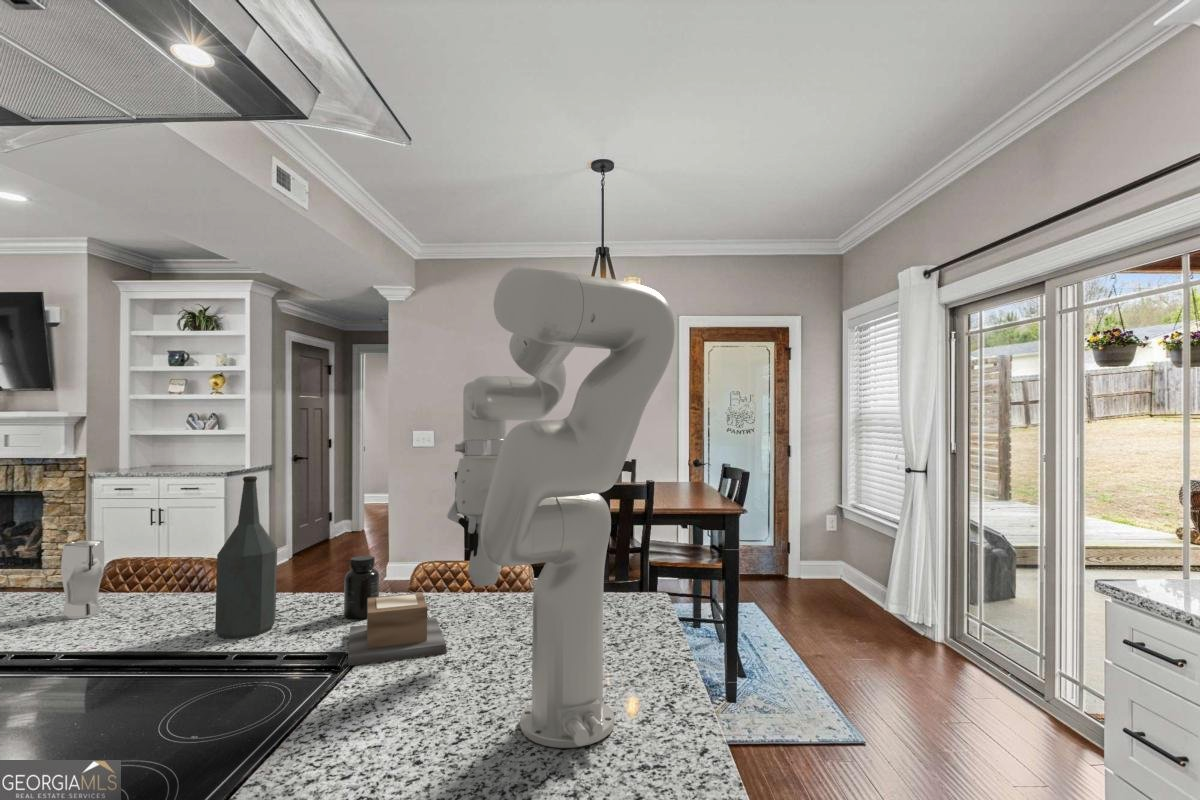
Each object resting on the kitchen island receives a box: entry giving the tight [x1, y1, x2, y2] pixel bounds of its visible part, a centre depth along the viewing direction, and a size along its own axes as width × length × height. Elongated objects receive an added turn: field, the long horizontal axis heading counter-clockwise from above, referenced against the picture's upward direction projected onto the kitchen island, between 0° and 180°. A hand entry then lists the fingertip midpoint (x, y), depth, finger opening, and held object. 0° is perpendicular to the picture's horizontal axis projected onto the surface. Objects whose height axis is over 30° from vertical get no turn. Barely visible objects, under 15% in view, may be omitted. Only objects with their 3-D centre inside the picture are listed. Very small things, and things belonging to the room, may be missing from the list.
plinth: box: [347, 592, 447, 667], centre depth 112 cm, size 16×16×8 cm
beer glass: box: [60, 539, 105, 620], centre depth 128 cm, size 7×7×15 cm
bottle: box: [214, 475, 278, 640], centre depth 119 cm, size 10×10×30 cm
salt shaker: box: [467, 515, 502, 587], centre depth 107 cm, size 6×6×13 cm
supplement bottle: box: [343, 555, 380, 621], centre depth 128 cm, size 7×7×12 cm
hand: (484, 553), depth 107 cm, fingers closed on salt shaker, 3 cm apart
